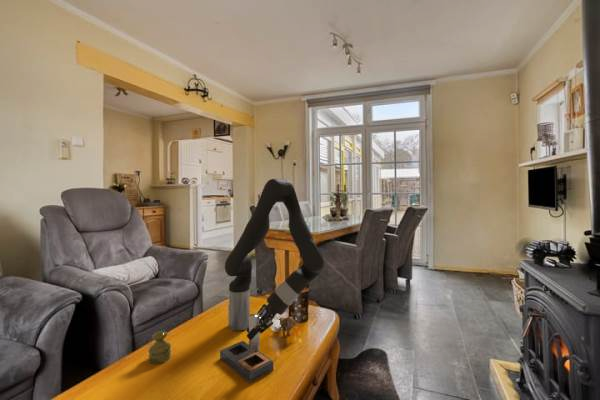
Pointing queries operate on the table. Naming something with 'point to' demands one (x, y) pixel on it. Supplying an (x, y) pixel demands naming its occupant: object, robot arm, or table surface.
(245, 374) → the block with square holes
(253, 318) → the steel peg
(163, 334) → the bronze chess pawn
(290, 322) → the lion figurine
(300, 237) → the robot arm
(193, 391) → the table surface
